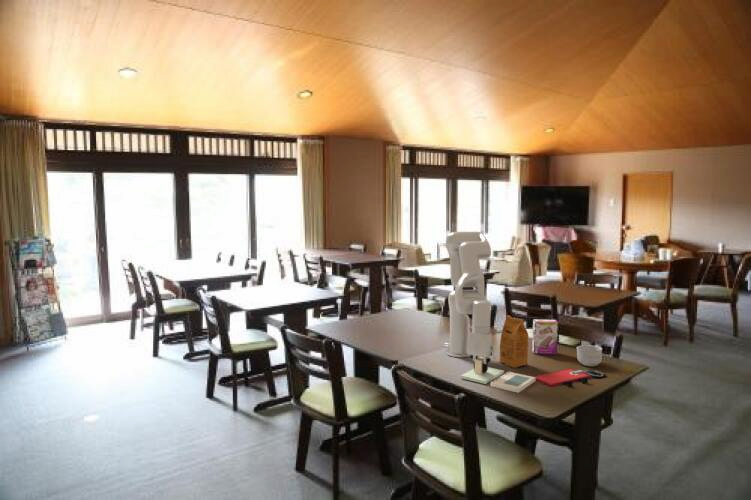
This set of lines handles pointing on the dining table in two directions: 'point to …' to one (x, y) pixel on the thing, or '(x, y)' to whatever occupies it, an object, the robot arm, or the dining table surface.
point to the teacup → (589, 355)
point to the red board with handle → (567, 377)
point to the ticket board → (513, 382)
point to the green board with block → (478, 375)
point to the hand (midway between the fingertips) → (480, 370)
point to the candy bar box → (545, 336)
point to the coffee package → (514, 343)
